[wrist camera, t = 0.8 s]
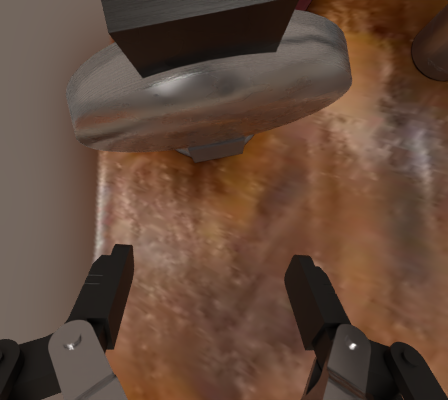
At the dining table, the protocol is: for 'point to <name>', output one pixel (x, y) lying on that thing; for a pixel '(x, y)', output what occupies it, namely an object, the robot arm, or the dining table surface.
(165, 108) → the lid
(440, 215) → the dining table surface
